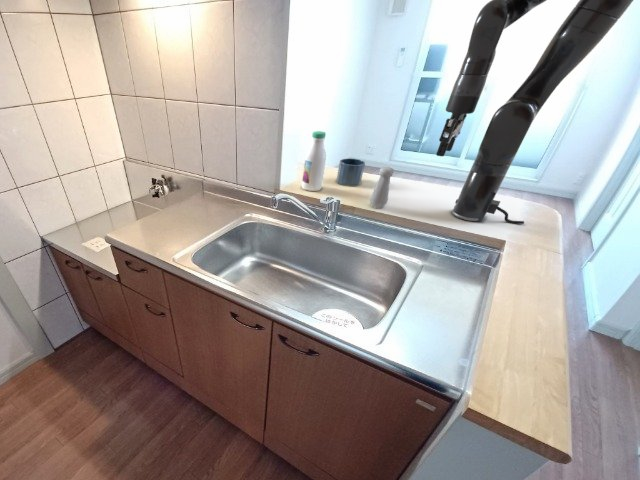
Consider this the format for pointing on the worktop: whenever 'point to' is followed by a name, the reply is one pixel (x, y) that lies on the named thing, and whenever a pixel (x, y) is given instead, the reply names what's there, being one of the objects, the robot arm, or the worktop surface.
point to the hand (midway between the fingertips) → (443, 153)
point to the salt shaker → (381, 188)
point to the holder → (350, 172)
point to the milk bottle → (314, 163)
